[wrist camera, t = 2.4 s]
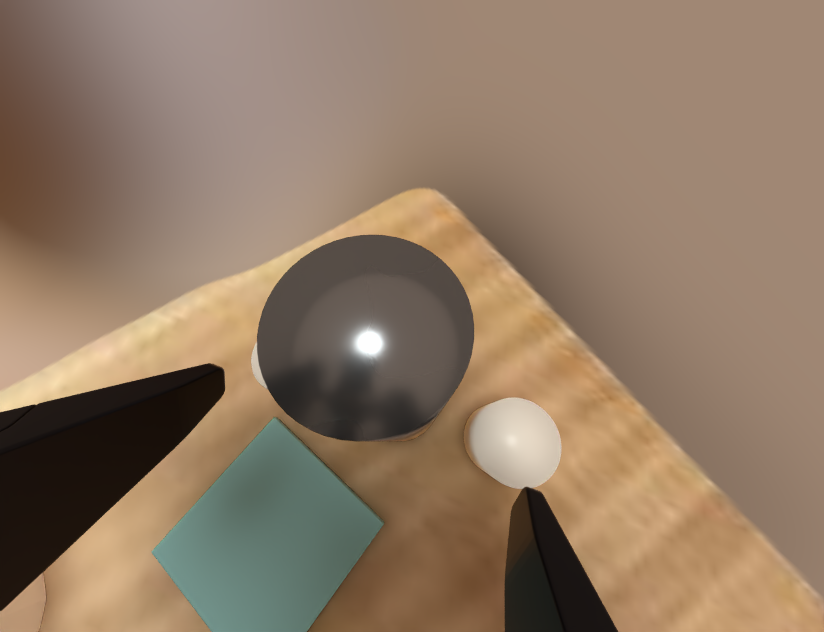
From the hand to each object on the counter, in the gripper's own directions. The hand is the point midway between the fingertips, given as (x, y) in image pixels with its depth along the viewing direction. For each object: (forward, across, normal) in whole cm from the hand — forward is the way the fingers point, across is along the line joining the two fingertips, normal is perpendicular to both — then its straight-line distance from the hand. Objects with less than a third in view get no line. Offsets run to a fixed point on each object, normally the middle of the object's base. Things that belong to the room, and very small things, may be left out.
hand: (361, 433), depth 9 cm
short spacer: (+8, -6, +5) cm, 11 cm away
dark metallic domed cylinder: (+8, 0, +5) cm, 9 cm away
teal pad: (+2, +4, +11) cm, 12 cm away
